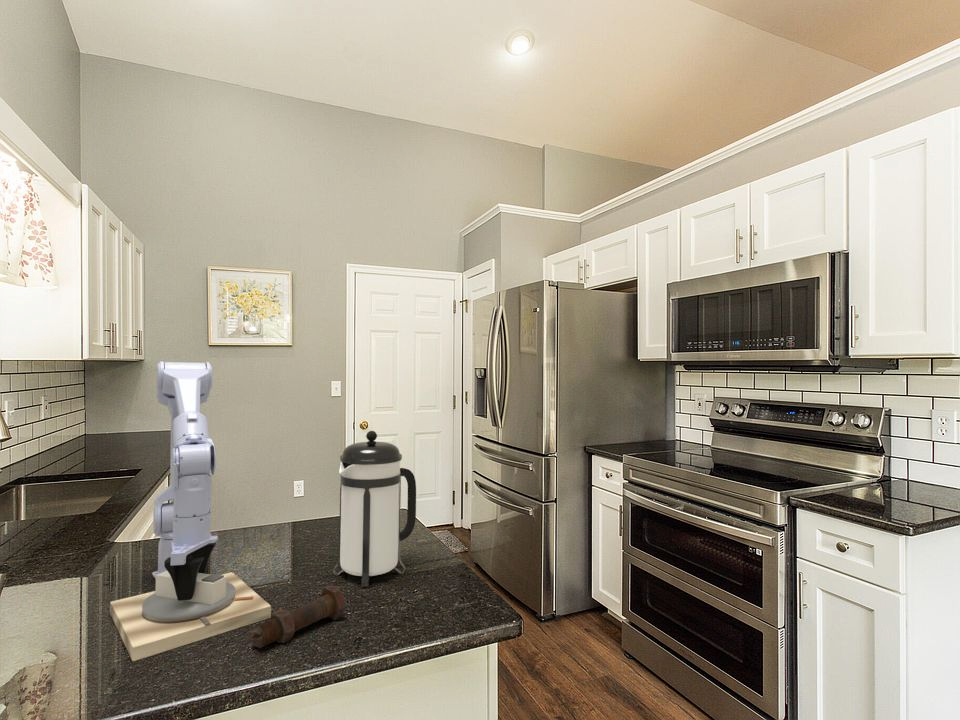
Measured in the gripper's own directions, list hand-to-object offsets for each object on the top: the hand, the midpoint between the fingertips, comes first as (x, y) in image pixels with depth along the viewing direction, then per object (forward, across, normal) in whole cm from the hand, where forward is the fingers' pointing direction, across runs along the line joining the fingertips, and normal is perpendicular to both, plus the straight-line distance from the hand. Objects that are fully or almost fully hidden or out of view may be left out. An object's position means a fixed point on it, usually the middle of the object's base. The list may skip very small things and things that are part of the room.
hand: (190, 592), depth 89 cm
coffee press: (+4, +14, -31) cm, 35 cm away
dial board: (+4, 0, 0) cm, 4 cm away
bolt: (+4, -9, -19) cm, 21 cm away
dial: (+2, 0, 0) cm, 2 cm away
